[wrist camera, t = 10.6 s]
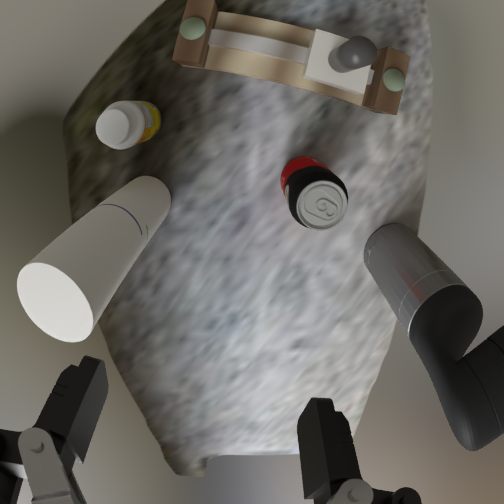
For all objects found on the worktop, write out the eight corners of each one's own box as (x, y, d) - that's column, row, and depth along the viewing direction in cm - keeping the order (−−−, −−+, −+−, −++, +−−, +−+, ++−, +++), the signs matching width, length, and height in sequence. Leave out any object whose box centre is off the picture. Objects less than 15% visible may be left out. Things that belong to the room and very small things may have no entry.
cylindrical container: (160, 168, 39) (59, 250, 17) (178, 215, 42) (110, 336, 20) (116, 186, 40) (3, 275, 18) (135, 230, 43) (49, 346, 21)
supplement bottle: (128, 145, 38) (94, 158, 29) (121, 106, 35) (84, 109, 26) (166, 136, 37) (140, 146, 28) (159, 96, 35) (131, 94, 26)
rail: (389, 61, 32) (411, 55, 27) (377, 112, 36) (397, 115, 30) (197, 12, 30) (187, -4, 24) (183, 66, 33) (171, 59, 27)
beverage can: (295, 146, 38) (313, 162, 27) (335, 171, 40) (365, 196, 29) (271, 186, 41) (278, 217, 30) (310, 208, 42) (330, 246, 31)
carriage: (366, 51, 29) (400, 38, 21) (356, 94, 32) (389, 92, 23) (312, 33, 29) (331, 11, 20) (301, 77, 31) (318, 67, 23)
